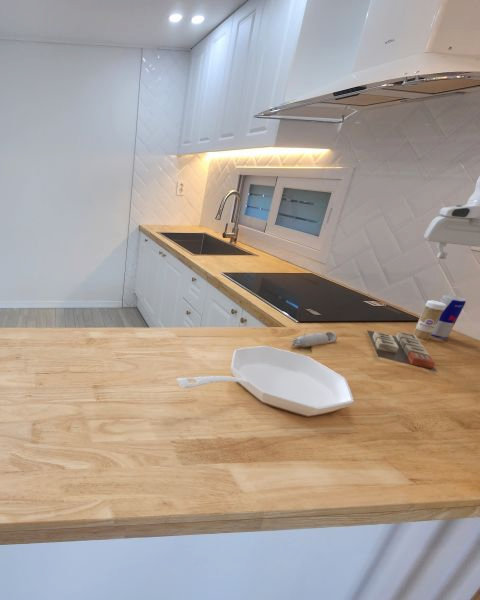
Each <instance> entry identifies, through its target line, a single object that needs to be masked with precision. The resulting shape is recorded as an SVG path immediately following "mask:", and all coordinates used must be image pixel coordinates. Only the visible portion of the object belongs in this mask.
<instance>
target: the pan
mask: <svg viewBox="0 0 480 600" xmlns="http://www.w3.org/2000/svg"><path fill="white" fill-rule="evenodd" d="M233 350H234V351H233V353H232V359H231V363H230V373H231V374H232V375H233V376H229V375H208V376H194V377H177V378H176V382H177V384H178V385H179V386H180V387H181V388H183V389H190V388H195V387H200V386H203V385H208V384H213V383H221V382H233V383H238V385H240V386H241V387H242V388H244V389H245V390H246V391H247V392H248V393H249V394H251V395H252V396H253V397H254V398H255V399H257V400H258V401H259V402H261V403H262V404H264V405H268V406H270V407H273V408H276V409H280V410H282V411H286V412H289V413H292V414H296V415H299V416H303V417H306V418H309V417H310V418H311V417H317V416H321V415H327V414H330V413H334V412H337V411H338V410H342V409H344V408H348V407H351V406H352V405H353V404H354V402H355V401H354V397H353V393H352V391H351V388H350V385H349V383H348V381H347V379H346V378H345V377H344V376H343V375H341V374H339V373H338V372H336V371H334V370H333V369H331V368H329V367H328V366H326V365H324V364H322V363H321V362H319V361H317V360H316V359H314V358H311V357H310V356H308V355H305V354H301V353H298V352H293V351H289V350H286V349H282V348H277V347H272V346H270V345H269V346H268V345H258V346H257V345H256V346H248V347H241V348H234V349H233ZM190 381H192V382H195V383H192V382H190Z"/></svg>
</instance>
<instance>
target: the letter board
mask: <svg viewBox="0 0 480 600" xmlns="http://www.w3.org/2000/svg"><path fill="white" fill-rule="evenodd" d="M366 332H367V334H368V336H369V338H370V341H371V343H372V345H373V348H374V350H375V353H376V355H377V357H378V358H381V359H385V360H388V361H389V360H390V361H393V362H398V363H402V364H406V365H409V366H413V367H418V368H422V369H426V370H430V371H433V372H437V369H436V368H435V365H434V366H433V368H432V369H431V368H427V367H422V366H418V365H414V364H411V362H410V361H409V359H408V356H407V355H406V353H405V351H404V349H403V348H402V346H401V345H400V342H399V341H398V340H397V338H396V335H392V337H393V338H394V340H395V342H396V344H397V345H398V347H399V348H398V351H397V353H393V352H389V351H385V350H380V349H378V348H377V346H376V344H375V343H376V342H374V339H373V334H374V332H375V331H373V330H368V329H367V330H366Z"/></svg>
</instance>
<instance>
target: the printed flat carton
mask: <svg viewBox="0 0 480 600" xmlns="http://www.w3.org/2000/svg"><path fill="white" fill-rule="evenodd" d="M412 334H413V333H407V332H401V331H397V333H396V335H395V337H396V338H397V340H398V341H399V342H400V345H401V346H402V348H403V349H404V351H405V353H406V355H407V356H408V355H409V353H410V352H415V353H419V354H423V355H427V356H430V353H429V352H428V350H427V349H426V348H425V346H424V345H423V344H422V342H421V341H420V338H418V337H416V335H412Z"/></svg>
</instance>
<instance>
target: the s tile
mask: <svg viewBox="0 0 480 600" xmlns="http://www.w3.org/2000/svg"><path fill="white" fill-rule="evenodd" d="M408 359H409V361H410V362H411V364H414V365H418V366H422V367H427V368H431V369H432V368H433V366H434V367H435V364H436V362H435V361H434V359H433V358H432V356H431V355H429V356H427V355H423V354H419V353H415V352H410V353H409V355H408Z"/></svg>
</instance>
